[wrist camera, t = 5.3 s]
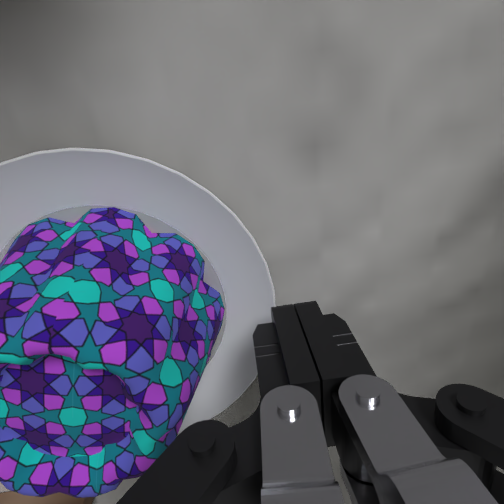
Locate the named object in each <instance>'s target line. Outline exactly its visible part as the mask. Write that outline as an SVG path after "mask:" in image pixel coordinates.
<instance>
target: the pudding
mask: <svg viewBox="0 0 504 504" xmlns="http://www.w3.org/2000/svg"><path fill="white" fill-rule="evenodd" d="M89 205H94V206H115V207H119V208H124V209H129V210H134V211H138V212H141V213H143V214H146V215H149V216H151V217H154V218H156V219H159V220H161V221H162V222H164V223H166V224H168V225H169V226H171V227H173V228H175V229H176V230H178V231H179V232H181V233H182V234H183V235H184V236H185V237H187V238H188V239H189V240H190V241H192V242H193V243H194V244H195V245H196V246H197V247H198V248H199V249H200V251H201V252H202V253H203V254H204V255H205V256H206V257H207V259H208V260H209V262H210V263H211V265H212V267H213V268H214V270H215V272H216V273H217V275H218V277H219V280H220V283H221V286H222V288H223V291H224V296H225V302H226V309H227V311H226V327H225V330H224V334H223V338H222V342H221V344H220V346H219V348H218V350H217V352H216V353H215V355H214V357H213V358H212V359H211V361H210V362H209V363H208V365H207V362H208V360H209V357H210V355H211V353H210V352H211V350H212V347H213V345H214V343H215V340H216V338H217V335H218V333H219V331H220V328H221V326H222V321H223V316H224V310H225V309H224V306H223V302H222V299H221V296H220V293H219V292H217V291H216V290H214V289H213V288H212V287H210V286H209V285H208V284H206V283H205V282H203V275H204V260H203V258H202V257H201V255H200V254H199V252H198V251H197V250H196V248H195V247H194V245H193V244H191V243H190V242H188V241H187V240H185V239H183V238H182V237H180V236H179V235H177V234H176V233H151V232H150V231H149V229H148V228H147V227H146V226H145V225H144V224H143V222H142V221H141V220H140V219H139V218H138V216H137V215H136V214H132V213H129V212H126V211H123V210H120V209H117V208H114V207H113V208H96V209H90V210H89V211H88V212H87V213H86V214H85V215H84V216H82V217H81V218H80V219H79V220H78V221H77V222H75V223H69V222H65V221H61V220H57V219H53V218H46V219H43V220H40V221H38V222H35V223H32V222H33V221H35V220H37V219H39V218H41V217H43V216H45V215H47V214H50V213H53V212H57V211H60V210H63V209H67V208H73V207H81V206H89ZM30 223H32V224H30ZM28 224H29V225H28ZM27 225H28V226H27ZM25 226H27V227H26V228H25V229H24V230H23V231H22V232H21V233H20V234H19V235H18V237H17V238H16V239H15V240H14V242H13V243H12V245H11V247H10V248H9V250H8V252H7V253H6V255H5V257H4V258H3V260H2V262H1V263H0V482H1V483H2V484H3V485H4V486H5V487H6V489H9V490H12V491H14V492H17V493H19V494H22V495H27V496H36V497H44V496H48V495H51V494H55V493H58V492H60V493H63V494H67V495H70V496H73V497H76V498H84V497H96V496H98V495H101V494H104V493H107V492H109V491H112V490H115V489H116V488H117V487H118V485H119V484H120V483H121V482H122V480H123V479H130V478H137V477H140V476H142V475H143V474H144V473H145V471H146V470H147V469H148V468H149V467H150V466H151V465H152V464H153V463H154V462H155V460H156V459H157V458H158V457H159V456H160V455H161V454H162V453H163V452H164V451H165V449H166V448H167V447H168V446H169V445H170V444H171V443H172V442H173V441H174V440H175V438H176V437H177V435H178V434H180V433H181V432H182V431H183V430H184V429H185V428H187V427H188V426H190V425H192V424H194V423H196V422H199V421H203V420H210V419H212V418H213V417H215V416H216V415H218V414H220V413H221V412H223V411H224V410H225V409H226V408H228V407H229V406H230V405H231V404H232V403H234V402H235V401H236V400H237V399H238V398H239V397H241V395H242V394H243V393H244V392H245V391H246V389H247V388H248V387H249V386H250V385H251V383H252V382H253V381H254V380H255V378H256V377H257V375H258V373H257V365H256V358H255V350H254V343H253V333H254V331H255V329H256V327H257V324H264V323H271V322H272V318H271V307H276V303H275V291H274V286H273V283H272V279H271V276H270V272H269V269H268V265H267V263H266V261H265V259H264V257H263V255H262V253H261V251H260V249H259V247H258V245H257V243H256V241H255V239H254V238H253V236H252V235H251V234H250V232H249V231H248V230H247V229H246V227H245V226H244V225H243V223H242V222H241V221H240V220H239V218H238V217H237V216H236V214H235V213H234V212H233V211H231V210H230V209H229V208H228V207H227V206H226V205H225V204H224V203H223V202H221V201H220V200H219V199H218V198H217V197H216V196H215V195H214V194H213V193H211V192H210V191H209V190H207V189H206V188H204V187H202V186H201V185H199V184H198V183H196V182H195V181H193V180H191V179H190V178H188V177H187V176H185V175H183V174H182V173H180V172H178V171H175V170H173V169H171V168H168V167H166V166H163V165H161V164H159V163H156V162H154V161H152V160H149V159H146V158H142V157H138V156H134V155H130V154H125V153H121V152H117V151H113V150H103V149H88V148H64V149H55V150H46V151H37V152H33V153H30V154H27V155H23V156H20V157H17V158H14V159H10V160H7V161H4V162H1V163H0V252H1V251H2V250H3V248H4V247H5V246H6V245H7V243H8V242H9V241H10V240H11V238H12V237H13V236H14V235H16V234H17V233H18V232H19V231H20V230H22V229H23V228H24V227H25ZM206 365H207V366H206Z"/></svg>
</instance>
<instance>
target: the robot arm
mask: <svg viewBox="0 0 504 504" xmlns="http://www.w3.org/2000/svg"><path fill="white" fill-rule="evenodd" d="M271 318H272V322H271V323H264V324H257V327H256V329H255V331H254V333H253V343H254V350H255V358H256V365H257V373H258V380H259V387H260V395H261V399H260V403H259V406H258V408H257V409H256V411H255V412H254V413H253V414H252V415H251V416H250V417H249V418H248V419H246V420H245V421H243V422H241V423H239V424H237V425H234V426H232V427H230V428H229V427H228V426H226V425H225V424H224V423H222V422H219V421H216V420H203V421H199V422H196V423H194V424H192V425H190V426H188V427H187V428H185V429H184V430H183V431H182V432H181V433H180V434H179V435H178V436H177V437H176V438H175V440H174V441H173V442H172V443H171V444H170V445H169V446H168V447H167V448H166V449H165V451H164V452H163V453H162V454H161V455H160V456H159V457H158V458H157V459H156V460H155V462H154V463H153V464H152V465H151V466H150V467H149V468H148V469H147V470H146V471H145V473H144V474H143V475H142V476H141V477H140V478H139V479H138V480H137V481H136V482H135V484H134V485H133V486H132V487H131V488H130V489H129V490H128V491H127V492H126V493H125V495H124V496H123V497H122V498H121V499H120V500H119V501H118V502H117V503H116V504H344V500H343V496H342V492H341V489H340V486H339V483H338V482H337V481H335V479H334V475H333V471H332V466H331V462H330V457H329V453H328V449H327V447H330V446H336V448H337V451H338V454H339V457H340V473H341V476H342V479H343V481H344V484H345V486H346V489H347V491H348V494H349V496H350V499H351V501H352V504H504V474H502V473H501V472H499V471H497V470H496V467H497V466H498V467H500V468H501V469H503V470H504V399H503V398H501V397H498V396H496V395H494V394H491V393H489V392H487V391H485V390H482V389H480V388H477V387H474V386H471V385H466V384H451V385H447V386H444V387H443V388H441V389H440V390H439V391H438V393H437V396H436V399H430V398H421V397H412V396H407V395H403V394H400V393H397V392H396V390H395V389H394V388H393V386H392V385H390V384H389V383H388V382H387V381H385V380H383V379H381V378H379V377H377V376H376V375H375V373H374V371H373V369H372V367H371V366H370V364H369V362H368V360H367V359H366V357H365V355H364V353H363V352H362V350H361V348H360V346H359V345H358V343H357V342H356V339H355V338H354V336H353V334H352V333H351V331H350V329H349V327H348V325H347V323H346V322H345V321H344V320H342V319H341V318H340V317H338V316H337V315H335V314H328V315H323V314H322V312H321V310H320V308H319V306H318V304H317V302H316V301H311V302H304V303H297V304H294V305H293V304H290V305H283V306H276V307H271Z"/></svg>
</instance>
